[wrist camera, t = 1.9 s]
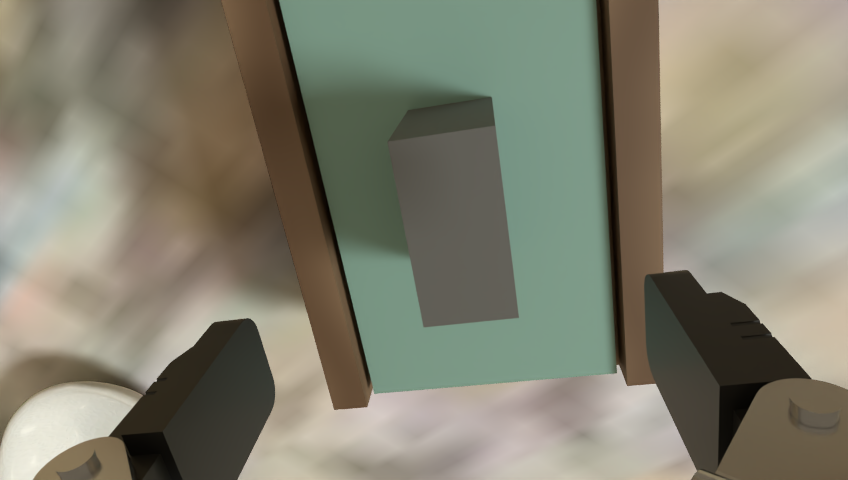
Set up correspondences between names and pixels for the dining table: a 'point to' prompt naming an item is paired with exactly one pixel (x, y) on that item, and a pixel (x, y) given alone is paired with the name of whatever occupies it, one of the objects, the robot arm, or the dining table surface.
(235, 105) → the dining table surface
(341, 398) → the lid box
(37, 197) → the dining table surface
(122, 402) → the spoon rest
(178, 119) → the dining table surface
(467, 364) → the cover plate
